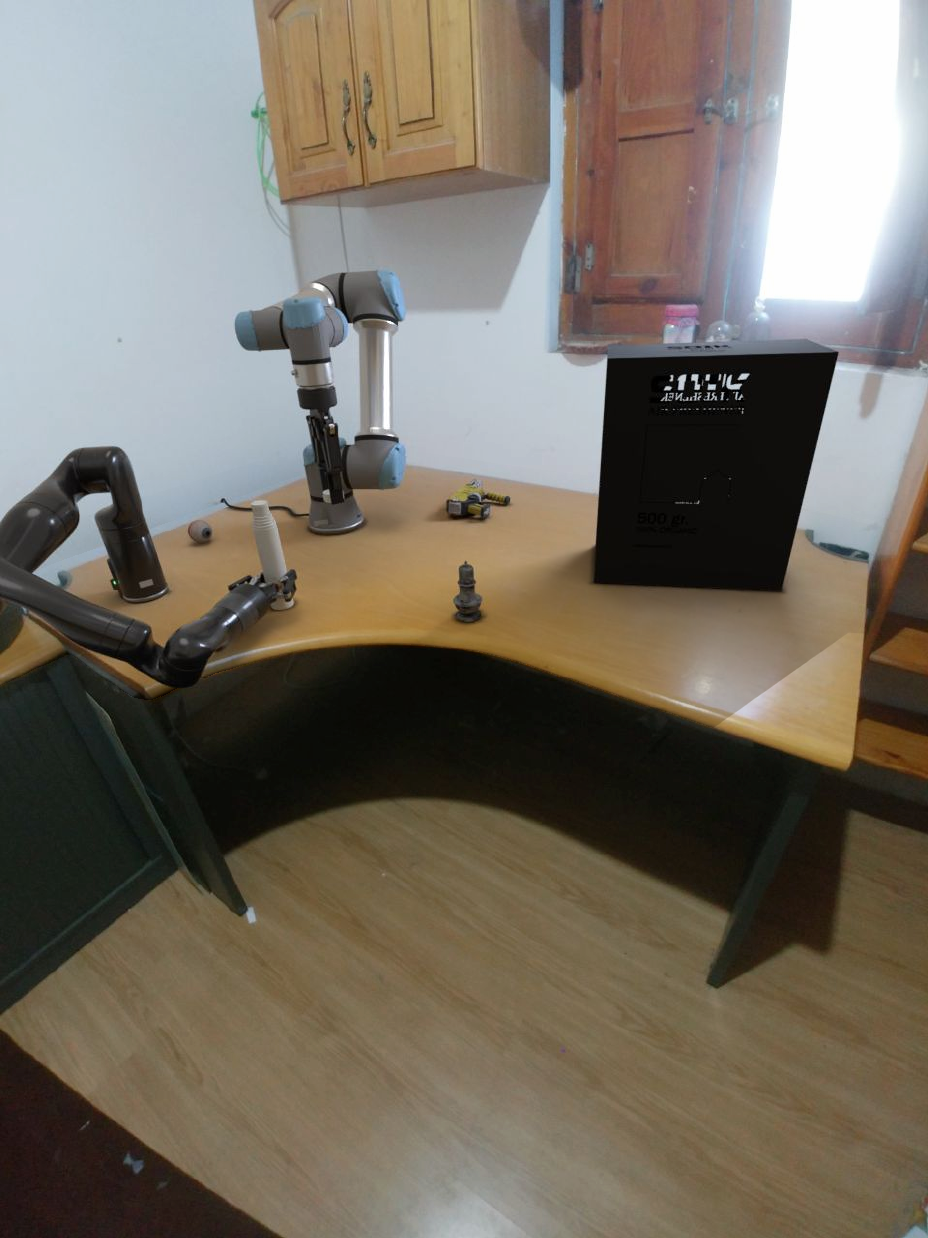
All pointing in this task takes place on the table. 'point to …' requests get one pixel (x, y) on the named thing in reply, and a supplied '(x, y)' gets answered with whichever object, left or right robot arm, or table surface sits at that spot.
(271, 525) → the bottle
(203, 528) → the eyeball
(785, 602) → the table surface
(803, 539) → the table surface
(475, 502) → the toy gun
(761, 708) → the table surface
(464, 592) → the grey tall ringed piece
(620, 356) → the cardboard box
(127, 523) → the left robot arm
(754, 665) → the table surface
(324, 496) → the cap
